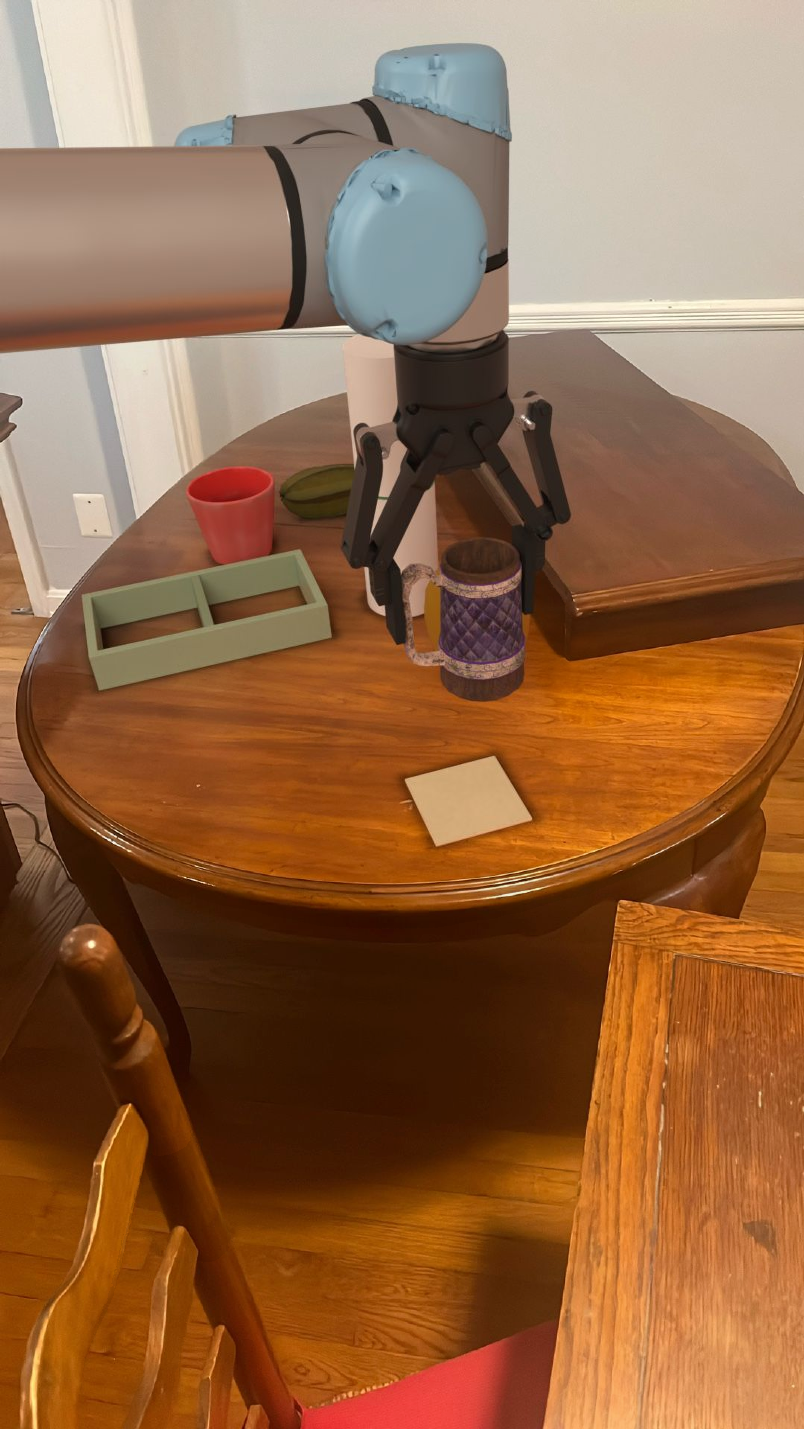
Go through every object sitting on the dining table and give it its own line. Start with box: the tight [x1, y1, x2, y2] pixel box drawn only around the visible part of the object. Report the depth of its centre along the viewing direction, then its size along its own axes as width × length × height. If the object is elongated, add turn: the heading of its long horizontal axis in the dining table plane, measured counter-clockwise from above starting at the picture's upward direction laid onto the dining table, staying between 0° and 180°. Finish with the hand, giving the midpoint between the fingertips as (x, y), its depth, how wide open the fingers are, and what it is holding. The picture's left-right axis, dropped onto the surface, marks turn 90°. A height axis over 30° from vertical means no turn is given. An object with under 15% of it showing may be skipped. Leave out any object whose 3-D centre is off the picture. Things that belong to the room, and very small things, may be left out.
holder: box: [81, 548, 333, 691], centre depth 113 cm, size 26×14×4 cm, turn 107°
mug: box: [401, 536, 527, 703], centre depth 78 cm, size 10×7×12 cm
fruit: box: [278, 463, 355, 520], centre depth 134 cm, size 11×12×7 cm
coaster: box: [404, 755, 533, 848], centre depth 90 cm, size 9×9×1 cm
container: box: [342, 333, 439, 618], centre depth 108 cm, size 9×9×30 cm
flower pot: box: [185, 466, 276, 565], centre depth 126 cm, size 11×11×10 cm
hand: (460, 620), depth 78 cm, fingers closed on mug, 10 cm apart
